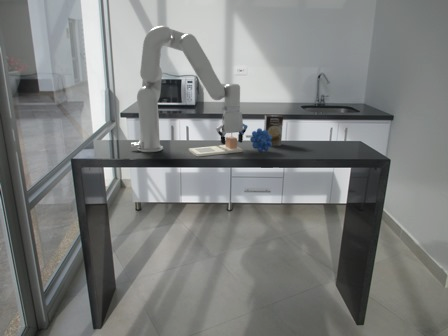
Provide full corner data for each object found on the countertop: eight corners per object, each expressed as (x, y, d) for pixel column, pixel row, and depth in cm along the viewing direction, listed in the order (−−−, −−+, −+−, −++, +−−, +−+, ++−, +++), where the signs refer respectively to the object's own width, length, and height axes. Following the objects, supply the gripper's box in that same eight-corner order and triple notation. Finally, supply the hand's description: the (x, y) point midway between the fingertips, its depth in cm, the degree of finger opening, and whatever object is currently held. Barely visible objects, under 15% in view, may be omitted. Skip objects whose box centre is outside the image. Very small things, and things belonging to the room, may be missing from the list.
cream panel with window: (197, 156, 169) (197, 154, 169) (188, 150, 179) (188, 148, 179) (227, 153, 175) (227, 150, 175) (217, 148, 186) (217, 145, 185)
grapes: (252, 154, 175) (253, 130, 171) (248, 150, 181) (249, 127, 177) (274, 153, 177) (276, 129, 173) (270, 150, 183) (271, 127, 180)
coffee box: (264, 145, 192) (266, 116, 187) (262, 143, 198) (264, 114, 193) (281, 146, 192) (283, 116, 187) (279, 143, 198) (281, 114, 194)
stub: (228, 153, 176) (228, 140, 174) (218, 147, 186) (218, 136, 184) (242, 151, 179) (243, 139, 177) (232, 146, 189) (232, 135, 187)
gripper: (219, 111, 170) (219, 146, 175) (251, 109, 177) (250, 143, 182) (213, 109, 176) (213, 143, 181) (243, 107, 183) (243, 140, 188)
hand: (231, 143), depth 182 cm, fingers open, 9 cm apart
